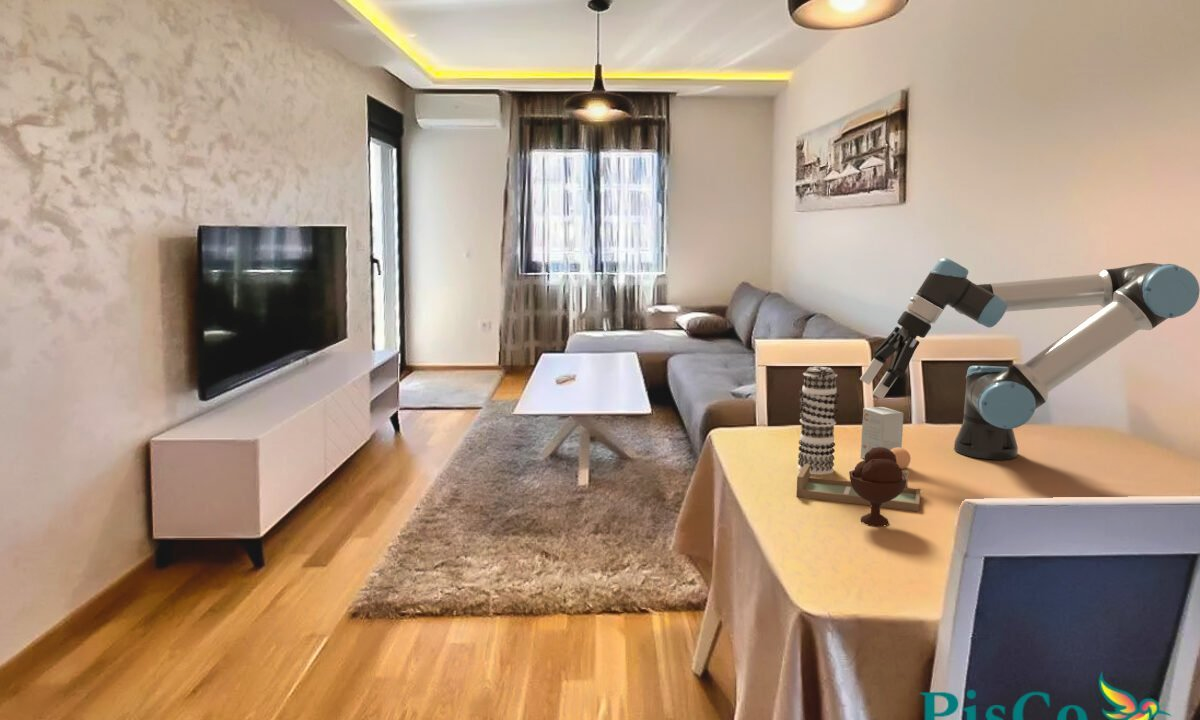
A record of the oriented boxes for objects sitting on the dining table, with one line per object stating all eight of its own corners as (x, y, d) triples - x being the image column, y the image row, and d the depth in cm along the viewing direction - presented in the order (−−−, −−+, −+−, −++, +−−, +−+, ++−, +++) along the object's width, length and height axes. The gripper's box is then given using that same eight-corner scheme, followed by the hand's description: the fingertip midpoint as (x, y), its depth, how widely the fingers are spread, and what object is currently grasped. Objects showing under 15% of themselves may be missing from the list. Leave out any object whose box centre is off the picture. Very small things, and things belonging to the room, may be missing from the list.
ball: (910, 467, 190) (911, 446, 190) (909, 473, 186) (910, 451, 185) (886, 465, 192) (888, 443, 192) (885, 470, 188) (886, 449, 187)
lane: (920, 496, 184) (921, 476, 184) (918, 511, 174) (920, 490, 174) (803, 482, 193) (804, 463, 193) (796, 496, 183) (797, 476, 183)
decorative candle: (816, 477, 198) (821, 372, 194) (788, 467, 206) (792, 366, 202) (843, 471, 203) (848, 369, 199) (814, 462, 210) (819, 363, 207)
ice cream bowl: (837, 513, 173) (841, 442, 170) (890, 512, 174) (894, 441, 171) (857, 531, 162) (862, 456, 160) (913, 530, 163) (918, 455, 161)
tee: (907, 486, 191) (908, 466, 190) (906, 492, 187) (908, 471, 186) (887, 484, 193) (888, 464, 192) (885, 489, 189) (887, 469, 188)
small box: (901, 463, 210) (904, 412, 208) (880, 465, 208) (883, 414, 206) (880, 455, 218) (883, 406, 216) (859, 457, 215) (862, 407, 213)
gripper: (892, 301, 219) (847, 369, 224) (920, 319, 195) (869, 395, 200) (917, 315, 219) (871, 383, 224) (948, 335, 195) (896, 410, 200)
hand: (870, 389), depth 212 cm, fingers open, 13 cm apart
